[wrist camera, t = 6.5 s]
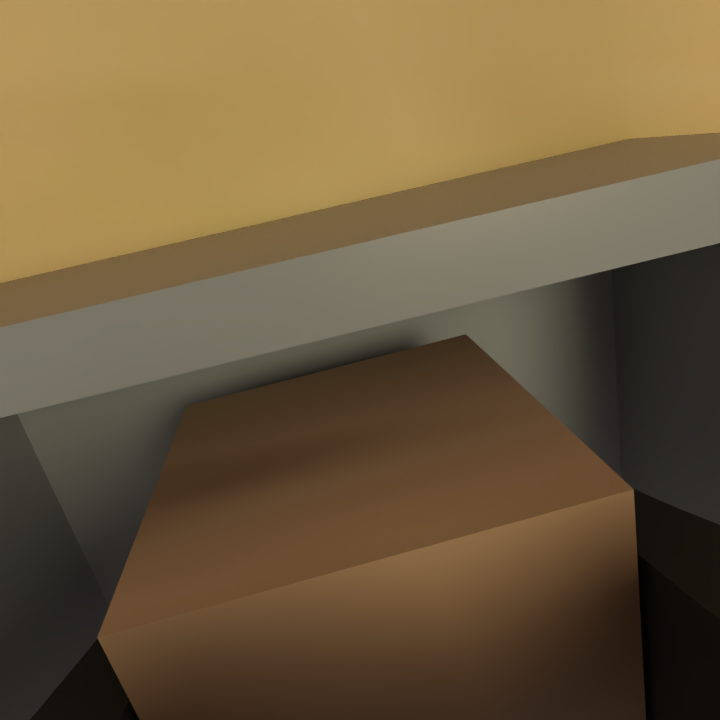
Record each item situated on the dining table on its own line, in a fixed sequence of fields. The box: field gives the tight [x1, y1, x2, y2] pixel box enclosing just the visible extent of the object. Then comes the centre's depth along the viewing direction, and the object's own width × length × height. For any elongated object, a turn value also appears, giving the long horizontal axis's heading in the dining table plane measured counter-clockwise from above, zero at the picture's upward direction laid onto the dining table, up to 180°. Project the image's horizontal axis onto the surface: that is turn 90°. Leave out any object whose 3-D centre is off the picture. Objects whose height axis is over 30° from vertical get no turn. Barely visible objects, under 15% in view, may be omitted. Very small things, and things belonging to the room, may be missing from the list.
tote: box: [0, 133, 720, 720], centre depth 12 cm, size 18×14×5 cm
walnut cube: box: [97, 334, 646, 720], centre depth 8 cm, size 5×5×5 cm
